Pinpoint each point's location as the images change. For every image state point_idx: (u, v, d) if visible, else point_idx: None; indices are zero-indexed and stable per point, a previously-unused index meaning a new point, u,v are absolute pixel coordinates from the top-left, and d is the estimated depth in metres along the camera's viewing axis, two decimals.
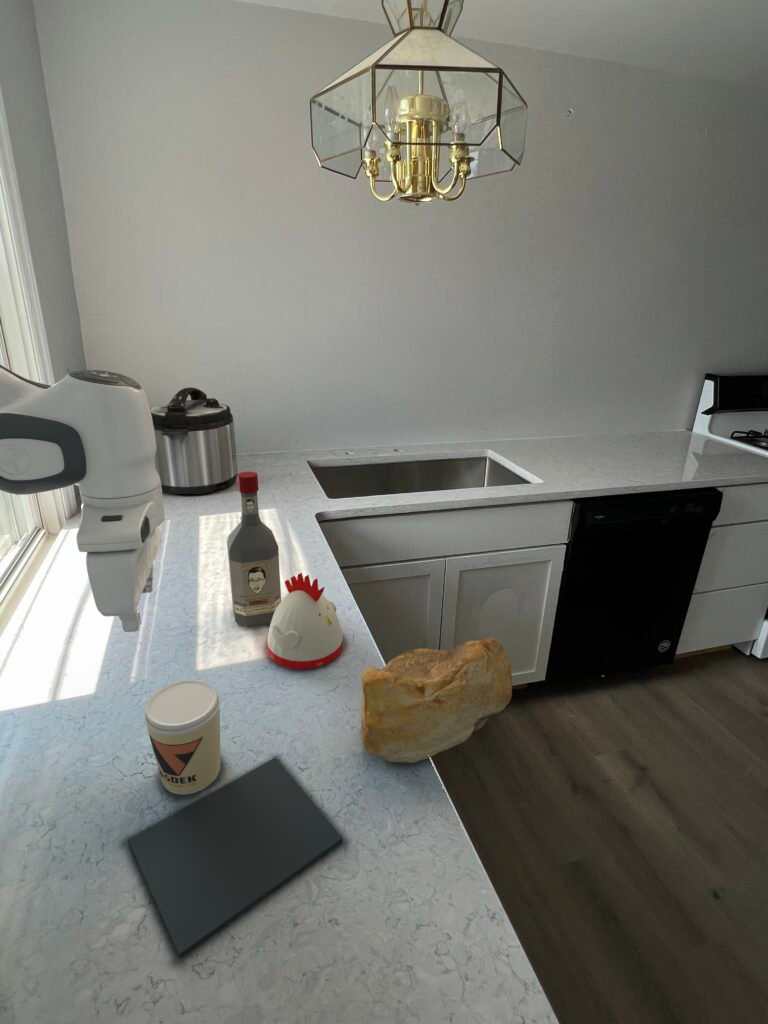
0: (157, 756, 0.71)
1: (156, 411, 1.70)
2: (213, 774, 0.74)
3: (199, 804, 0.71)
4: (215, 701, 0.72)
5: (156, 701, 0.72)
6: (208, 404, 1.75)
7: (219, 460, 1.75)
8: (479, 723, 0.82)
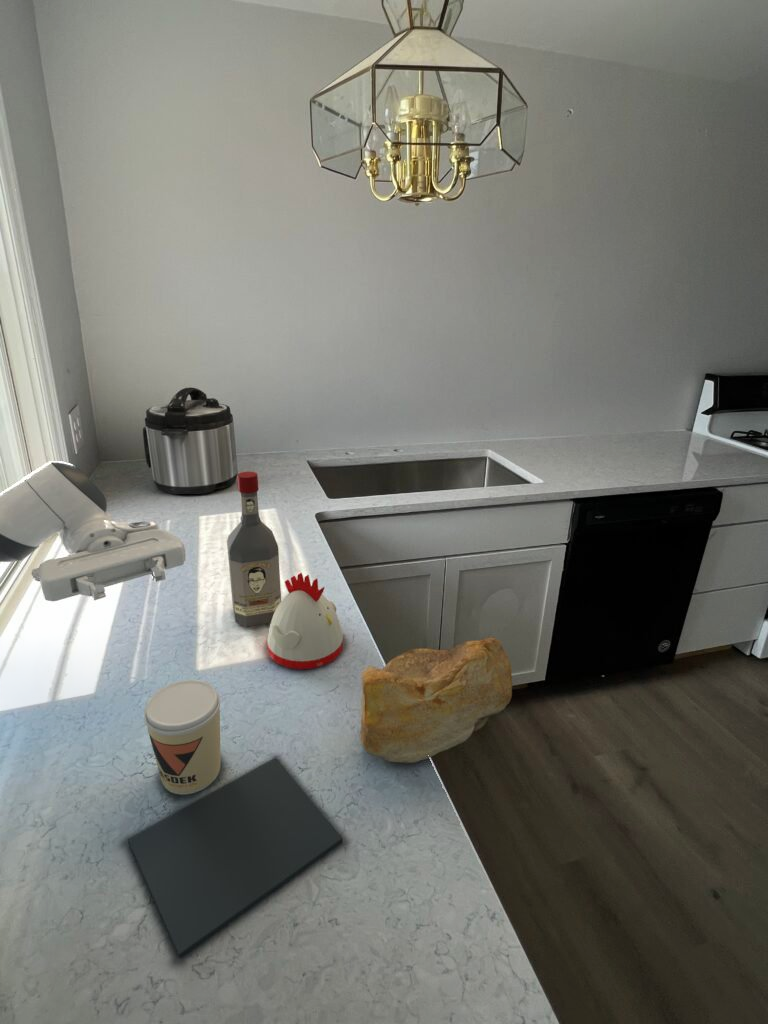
0: (157, 756, 0.71)
1: (156, 411, 1.70)
2: (213, 774, 0.74)
3: (199, 804, 0.71)
4: (215, 701, 0.72)
5: (156, 701, 0.72)
6: (208, 404, 1.75)
7: (219, 460, 1.75)
8: (479, 723, 0.82)
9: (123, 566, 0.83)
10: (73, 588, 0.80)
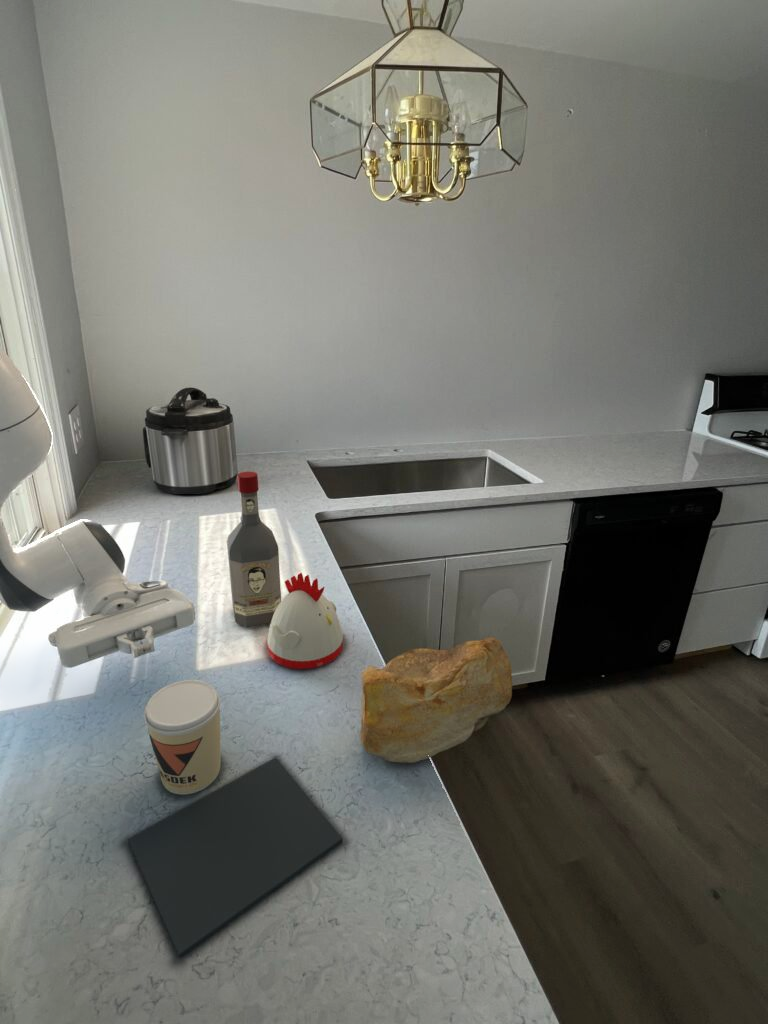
0: (157, 756, 0.71)
1: (156, 411, 1.70)
2: (213, 774, 0.74)
3: (199, 804, 0.71)
4: (215, 701, 0.72)
5: (156, 701, 0.72)
6: (208, 404, 1.75)
7: (219, 460, 1.75)
8: (479, 723, 0.82)
9: None
10: (89, 653, 0.83)
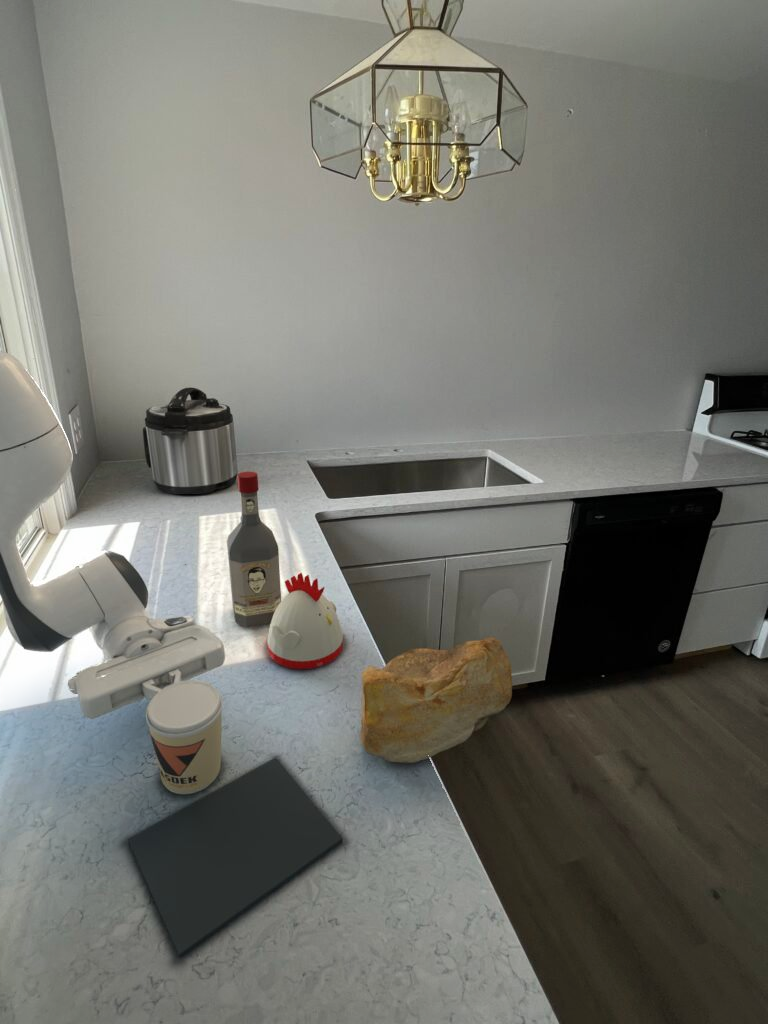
0: (158, 756, 0.71)
1: (156, 411, 1.70)
2: (213, 774, 0.74)
3: (199, 804, 0.71)
4: (218, 703, 0.72)
5: (158, 701, 0.72)
6: (208, 404, 1.75)
7: (219, 460, 1.75)
8: (479, 723, 0.82)
9: (163, 674, 0.80)
10: (113, 702, 0.76)
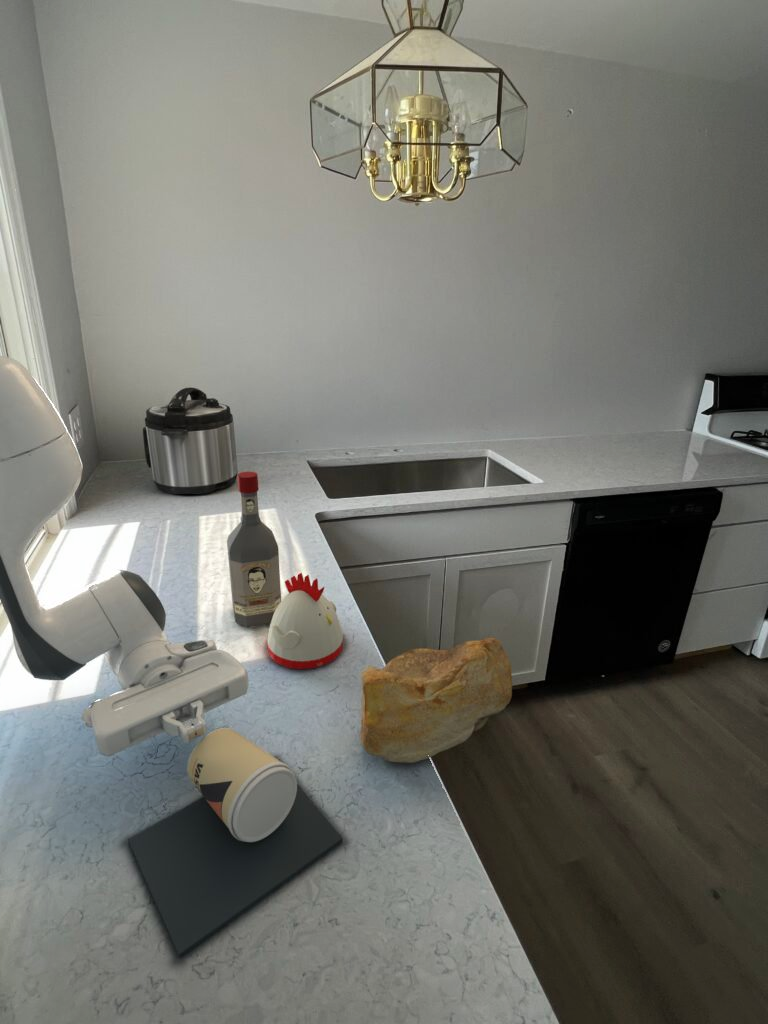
0: (209, 790, 0.66)
1: (156, 411, 1.70)
2: None
3: (199, 804, 0.71)
4: (282, 821, 0.68)
5: (257, 789, 0.64)
6: (208, 404, 1.75)
7: (219, 460, 1.75)
8: (479, 723, 0.82)
9: (184, 705, 0.74)
10: (130, 737, 0.70)
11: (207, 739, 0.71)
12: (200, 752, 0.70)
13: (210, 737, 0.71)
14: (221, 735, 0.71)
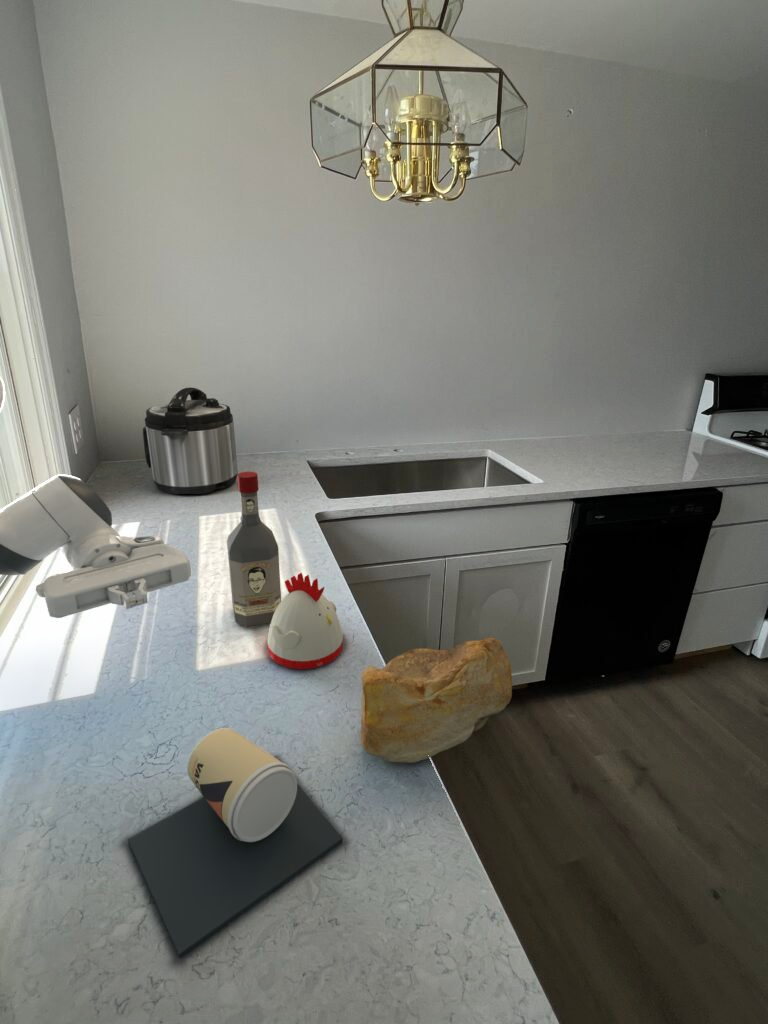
0: (209, 790, 0.66)
1: (156, 411, 1.70)
2: None
3: (199, 804, 0.71)
4: (282, 821, 0.68)
5: (257, 789, 0.64)
6: (208, 404, 1.75)
7: (219, 460, 1.75)
8: (479, 723, 0.82)
9: (128, 582, 0.83)
10: (78, 604, 0.79)
11: (207, 739, 0.71)
12: (200, 752, 0.70)
13: (210, 737, 0.71)
14: (222, 735, 0.71)
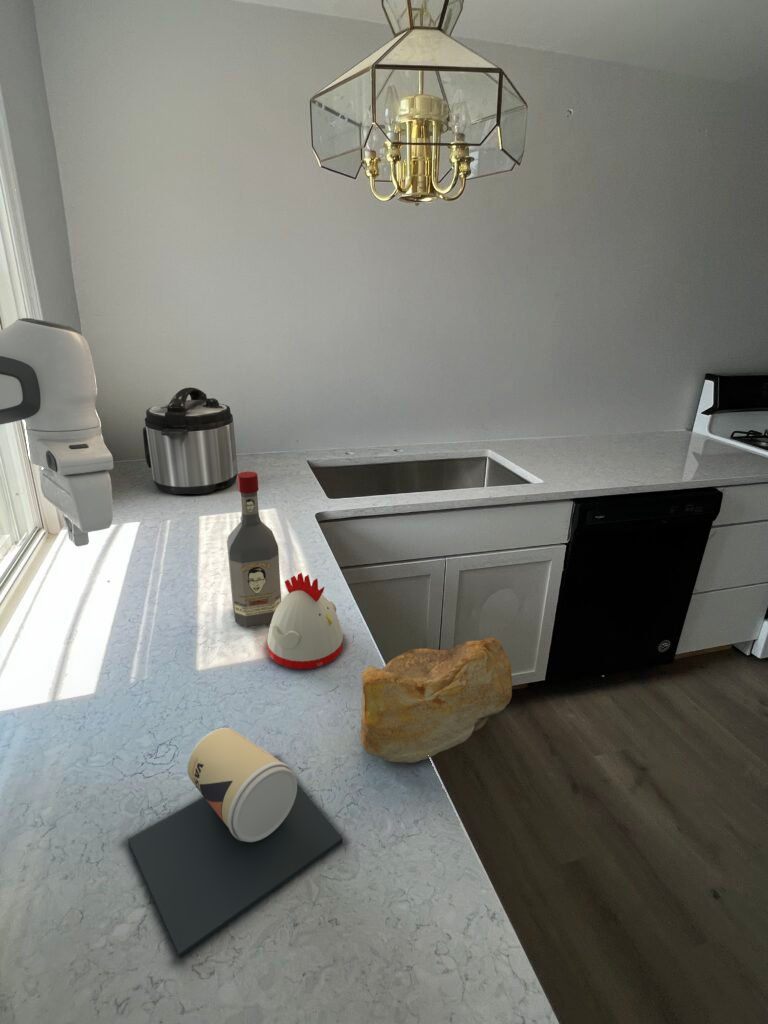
0: (209, 790, 0.66)
1: (156, 411, 1.70)
2: None
3: (199, 804, 0.71)
4: (282, 821, 0.68)
5: (257, 789, 0.64)
6: (208, 404, 1.75)
7: (219, 460, 1.75)
8: (479, 723, 0.82)
9: None
10: None
11: (207, 739, 0.71)
12: (200, 752, 0.70)
13: (210, 737, 0.71)
14: (222, 735, 0.71)
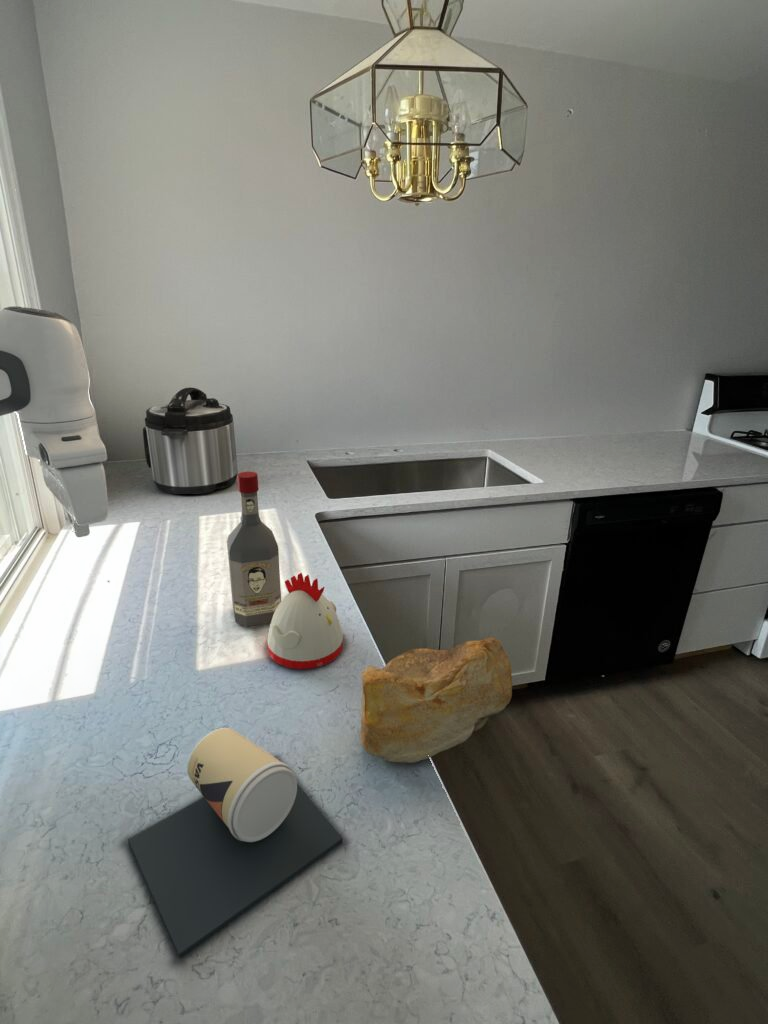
0: (209, 790, 0.66)
1: (156, 411, 1.70)
2: None
3: (199, 804, 0.71)
4: (282, 821, 0.68)
5: (257, 789, 0.64)
6: (208, 404, 1.75)
7: (219, 460, 1.75)
8: (479, 723, 0.82)
9: None
10: None
11: (207, 739, 0.71)
12: (200, 752, 0.70)
13: (210, 737, 0.71)
14: (222, 735, 0.71)
